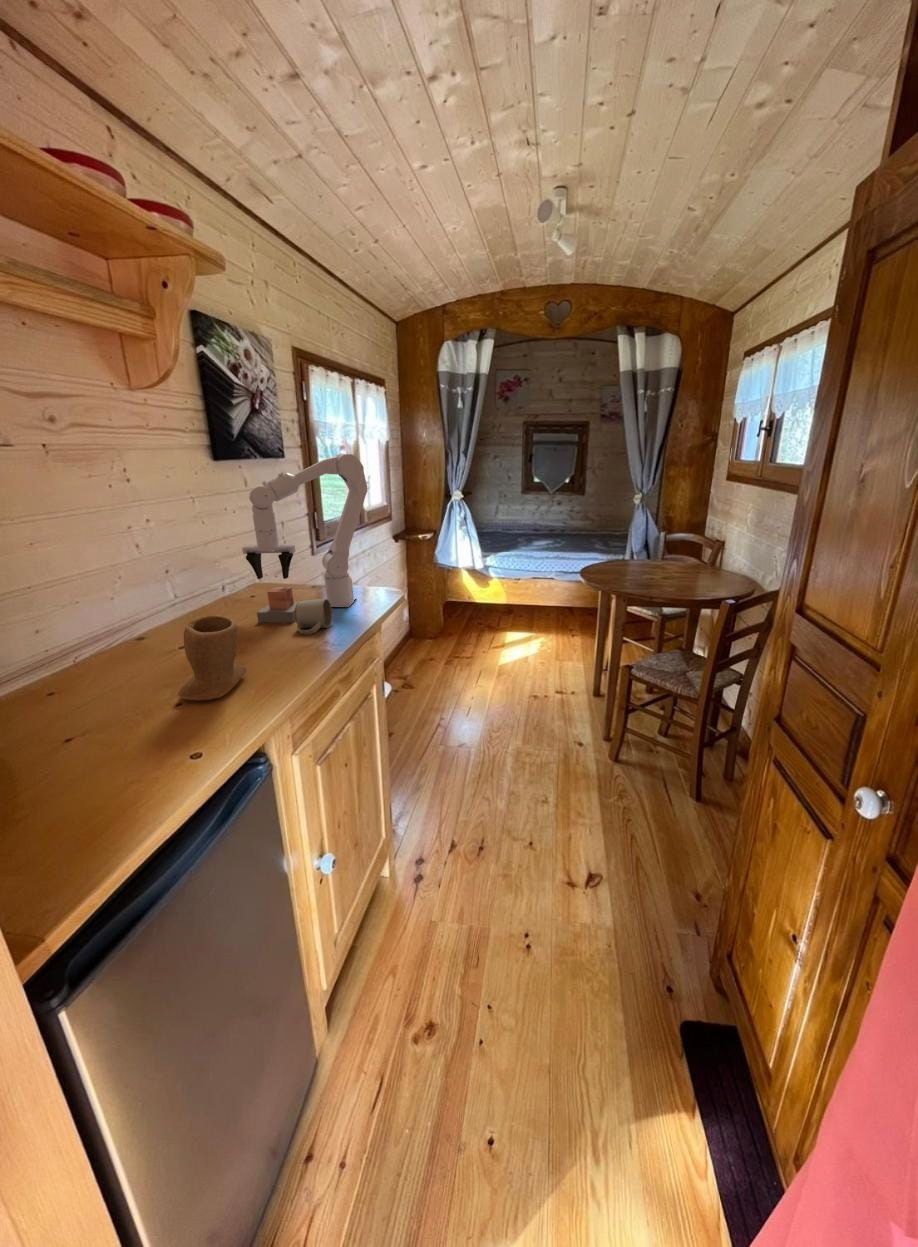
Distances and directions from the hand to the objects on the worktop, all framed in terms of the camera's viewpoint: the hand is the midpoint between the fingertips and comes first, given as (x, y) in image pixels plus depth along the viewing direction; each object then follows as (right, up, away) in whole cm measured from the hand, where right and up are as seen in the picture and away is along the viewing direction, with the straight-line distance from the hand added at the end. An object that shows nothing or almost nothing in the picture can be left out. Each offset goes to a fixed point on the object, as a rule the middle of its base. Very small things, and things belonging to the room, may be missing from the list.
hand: (273, 578), depth 155 cm
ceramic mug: (+15, -15, -12) cm, 24 cm away
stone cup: (+5, -26, -46) cm, 53 cm away
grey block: (+3, -12, -1) cm, 12 cm away
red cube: (+3, -8, -2) cm, 9 cm away
